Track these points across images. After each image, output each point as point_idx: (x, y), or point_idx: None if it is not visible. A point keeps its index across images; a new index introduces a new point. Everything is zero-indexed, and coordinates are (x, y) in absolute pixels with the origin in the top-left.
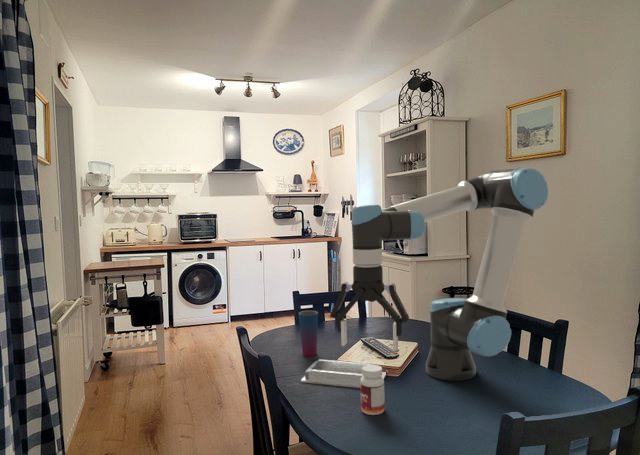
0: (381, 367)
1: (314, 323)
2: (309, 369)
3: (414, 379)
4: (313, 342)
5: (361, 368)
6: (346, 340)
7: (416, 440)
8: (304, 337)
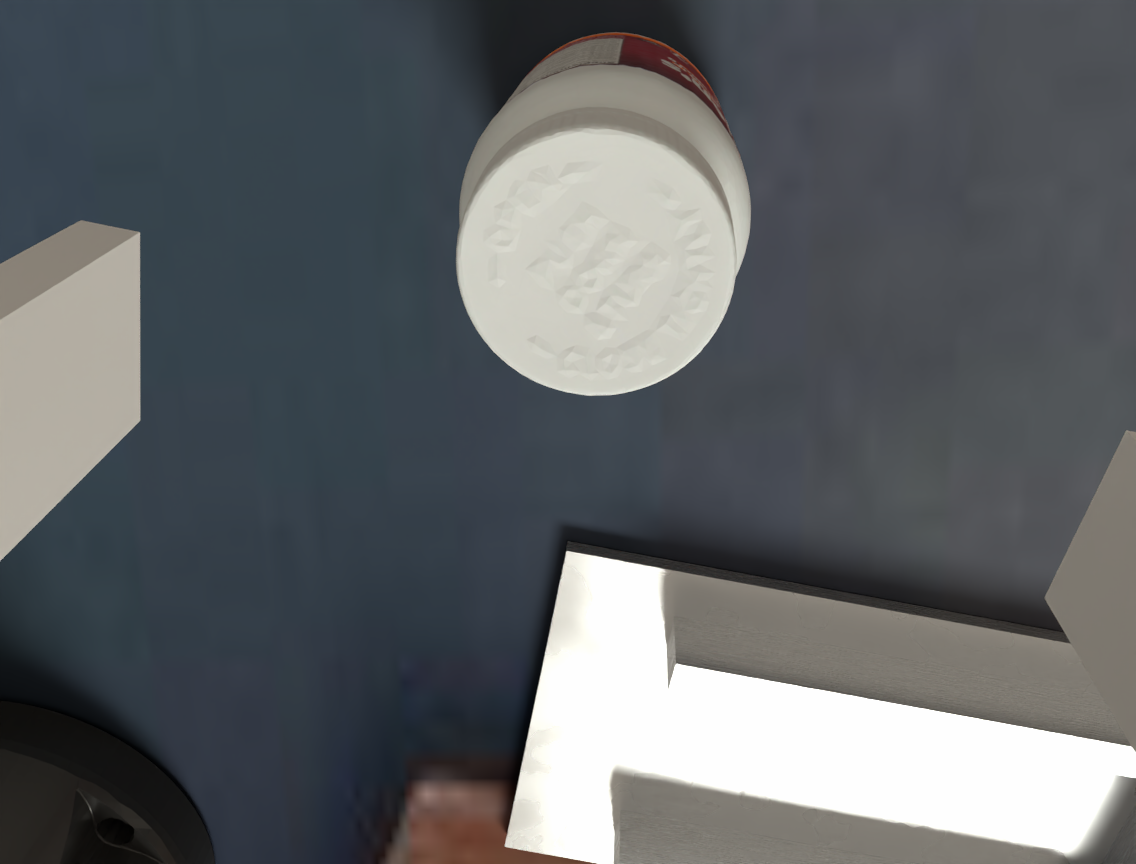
0: (464, 294)
1: None
2: None
3: (289, 726)
4: None
5: (716, 851)
6: (1080, 603)
7: None
8: None
